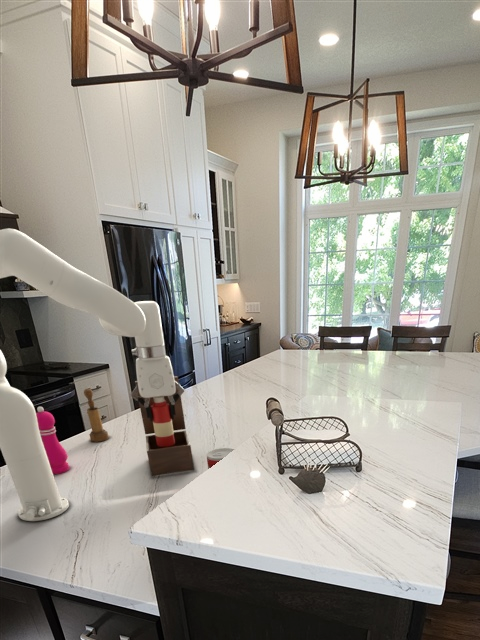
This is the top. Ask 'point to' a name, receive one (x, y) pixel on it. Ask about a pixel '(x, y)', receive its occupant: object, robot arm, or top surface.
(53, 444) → the pepper mill
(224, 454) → the canned food
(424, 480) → the top surface
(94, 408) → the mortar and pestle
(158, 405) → the ketchup bottle
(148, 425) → the bread box lid
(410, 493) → the top surface
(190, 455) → the bread box
